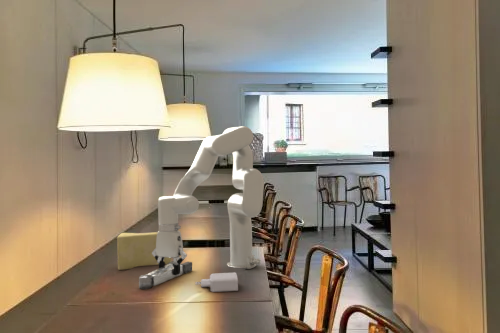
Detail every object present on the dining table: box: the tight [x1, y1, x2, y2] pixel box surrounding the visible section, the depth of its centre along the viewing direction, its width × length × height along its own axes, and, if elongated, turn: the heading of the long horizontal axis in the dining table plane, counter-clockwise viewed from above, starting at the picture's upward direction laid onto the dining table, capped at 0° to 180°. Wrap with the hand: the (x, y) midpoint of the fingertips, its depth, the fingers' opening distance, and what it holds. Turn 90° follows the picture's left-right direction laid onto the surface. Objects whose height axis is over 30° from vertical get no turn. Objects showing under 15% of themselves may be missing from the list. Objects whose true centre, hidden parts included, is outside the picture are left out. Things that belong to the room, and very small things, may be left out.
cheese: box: [116, 231, 172, 271], centre depth 184 cm, size 22×10×15 cm, turn 96°
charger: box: [194, 272, 239, 293], centre depth 152 cm, size 5×9×15 cm
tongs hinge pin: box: [138, 274, 152, 290], centre depth 151 cm, size 4×4×4 cm
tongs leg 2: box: [151, 261, 193, 287], centre depth 162 cm, size 22×2×4 cm, turn 152°
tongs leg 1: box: [146, 260, 175, 275], centre depth 164 cm, size 22×2×4 cm, turn 161°
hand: (169, 273), depth 165 cm, fingers open, 6 cm apart
